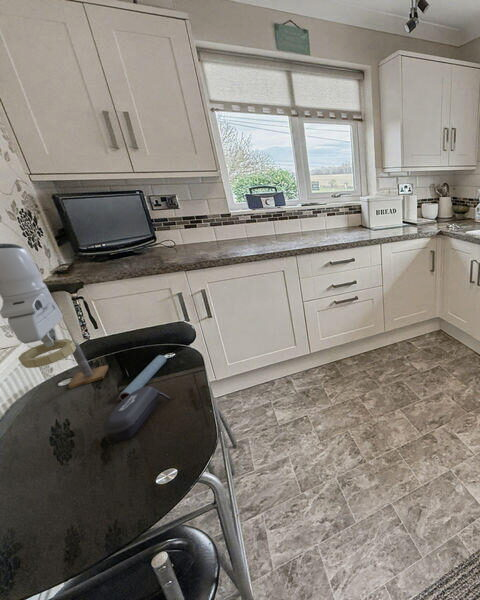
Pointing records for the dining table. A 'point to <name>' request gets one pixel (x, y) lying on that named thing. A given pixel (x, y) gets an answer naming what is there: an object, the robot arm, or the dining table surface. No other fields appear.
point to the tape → (32, 362)
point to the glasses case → (132, 413)
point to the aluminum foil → (143, 376)
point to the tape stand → (85, 370)
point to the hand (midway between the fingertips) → (52, 344)
